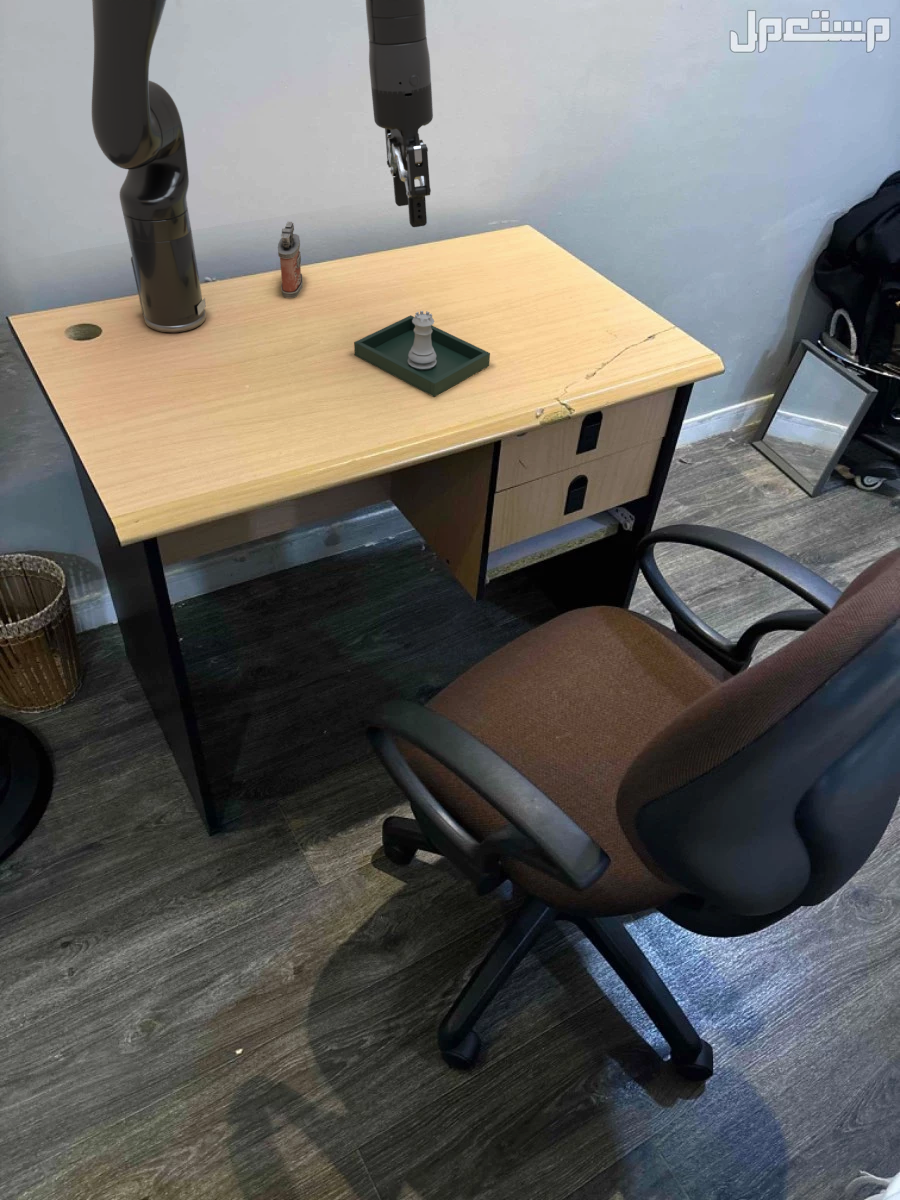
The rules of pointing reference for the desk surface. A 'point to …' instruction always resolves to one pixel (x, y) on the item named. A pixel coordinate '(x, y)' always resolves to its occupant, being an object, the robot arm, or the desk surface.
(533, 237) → the desk surface
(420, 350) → the rook chess piece
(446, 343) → the tray
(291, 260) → the lighter
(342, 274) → the desk surface
